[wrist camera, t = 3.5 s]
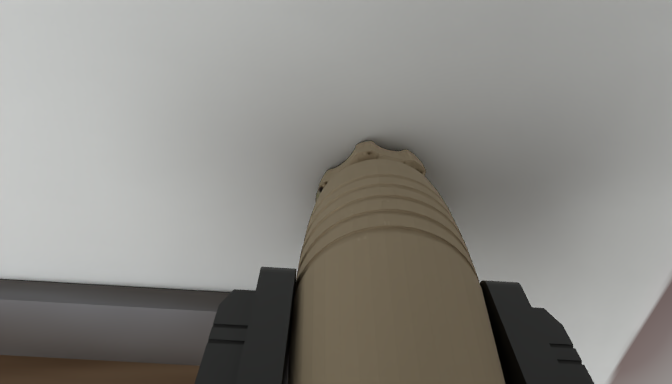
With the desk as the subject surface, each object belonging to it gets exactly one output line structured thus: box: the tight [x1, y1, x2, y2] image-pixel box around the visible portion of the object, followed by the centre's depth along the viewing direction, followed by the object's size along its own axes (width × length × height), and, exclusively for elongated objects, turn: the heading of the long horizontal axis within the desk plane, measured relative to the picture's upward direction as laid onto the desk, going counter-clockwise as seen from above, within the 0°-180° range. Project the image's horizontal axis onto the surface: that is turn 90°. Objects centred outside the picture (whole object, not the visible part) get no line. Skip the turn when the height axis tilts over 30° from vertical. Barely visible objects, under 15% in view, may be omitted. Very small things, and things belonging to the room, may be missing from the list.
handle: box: [288, 141, 505, 384], centre depth 10 cm, size 5×6×15 cm
